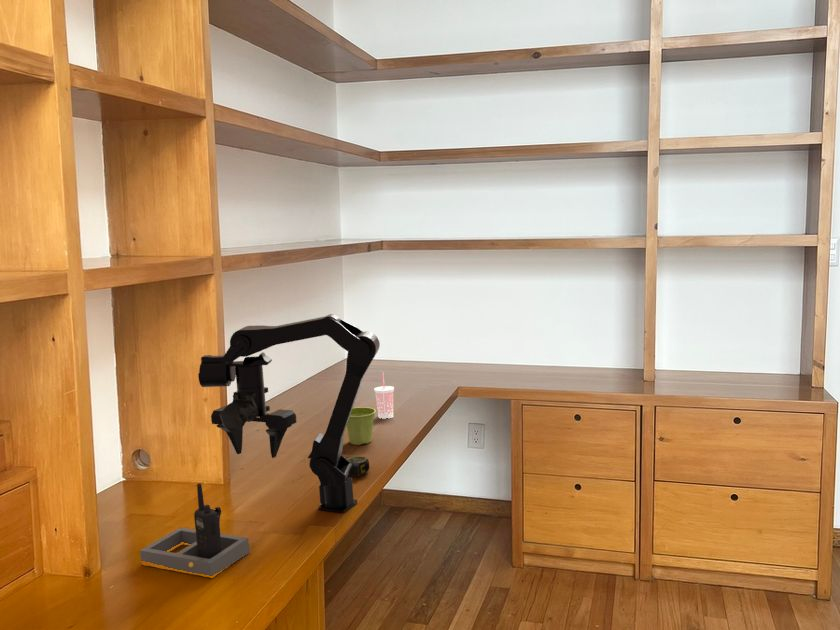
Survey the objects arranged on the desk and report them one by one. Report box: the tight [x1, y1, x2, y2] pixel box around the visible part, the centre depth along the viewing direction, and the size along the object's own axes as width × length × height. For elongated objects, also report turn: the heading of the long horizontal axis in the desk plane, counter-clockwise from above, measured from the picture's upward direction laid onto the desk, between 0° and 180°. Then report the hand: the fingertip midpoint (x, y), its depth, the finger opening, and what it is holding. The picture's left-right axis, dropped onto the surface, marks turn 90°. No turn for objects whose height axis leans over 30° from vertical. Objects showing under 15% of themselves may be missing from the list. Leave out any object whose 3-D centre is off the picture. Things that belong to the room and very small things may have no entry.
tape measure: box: [345, 455, 370, 478], centre depth 190 cm, size 7×7×4 cm
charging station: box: [139, 527, 250, 576], centre depth 147 cm, size 17×11×3 cm
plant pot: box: [346, 406, 377, 446], centre depth 216 cm, size 9×9×9 cm
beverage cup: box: [373, 371, 395, 420], centre depth 240 cm, size 6×6×14 cm
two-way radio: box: [193, 482, 222, 559], centre depth 145 cm, size 6×4×15 cm
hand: (256, 455), depth 170 cm, fingers open, 9 cm apart
